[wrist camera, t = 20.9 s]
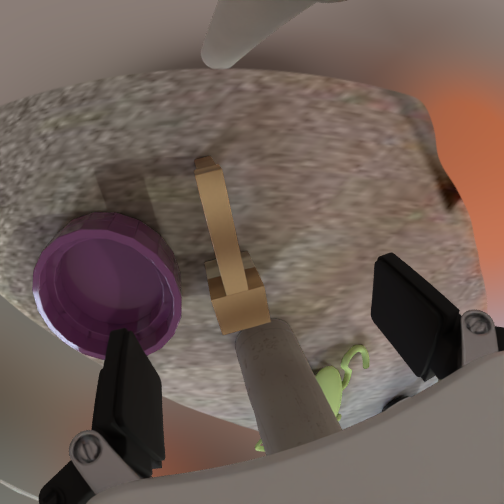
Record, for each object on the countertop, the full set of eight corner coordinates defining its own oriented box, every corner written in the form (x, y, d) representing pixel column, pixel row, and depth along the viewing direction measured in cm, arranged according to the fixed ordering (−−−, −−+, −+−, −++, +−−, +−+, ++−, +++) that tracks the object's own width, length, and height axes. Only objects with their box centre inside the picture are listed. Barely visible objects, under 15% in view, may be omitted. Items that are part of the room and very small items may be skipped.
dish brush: (177, 164, 27) (175, 180, 20) (227, 151, 27) (241, 164, 21) (213, 294, 34) (222, 335, 28) (254, 283, 34) (270, 322, 28)
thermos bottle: (262, 367, 42) (329, 545, 17) (222, 346, 38) (281, 558, 14) (303, 334, 40) (398, 514, 16) (266, 308, 36) (367, 529, 12)
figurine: (246, 439, 52) (253, 462, 47) (266, 352, 40) (277, 382, 35) (328, 424, 56) (337, 443, 51) (373, 337, 45) (390, 360, 40)
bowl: (28, 235, 25) (8, 256, 21) (155, 191, 27) (150, 207, 23) (85, 341, 33) (78, 369, 29) (196, 315, 35) (200, 344, 30)
